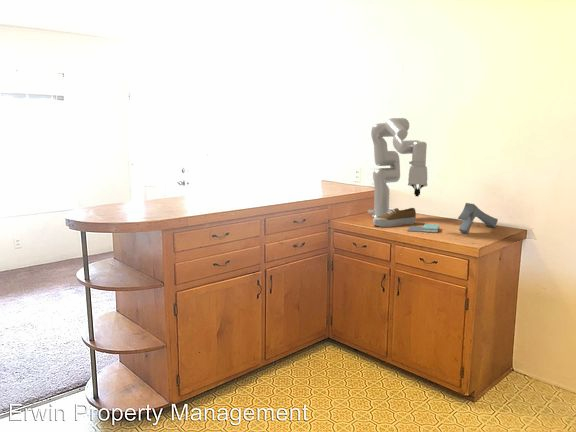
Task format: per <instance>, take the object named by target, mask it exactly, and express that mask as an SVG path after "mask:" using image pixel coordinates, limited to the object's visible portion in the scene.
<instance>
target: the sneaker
mask: <svg viewBox="0 0 576 432" xmlns="http://www.w3.org/2000/svg"><path fill="white" fill-rule="evenodd" d="M416 213H417V212H416V208H414V207H409V208H405V209H401V210H400V209H399V208H397V207H396V208H392V209H390V210H389V212H387V213H386V214H384V215H381V216H377V217H373V218H372V219H373V220H372V224H373V226H376V227H381V228H390V227H396V226H404V225H414V224H415V223H416V218H417V215H416Z"/></svg>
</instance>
